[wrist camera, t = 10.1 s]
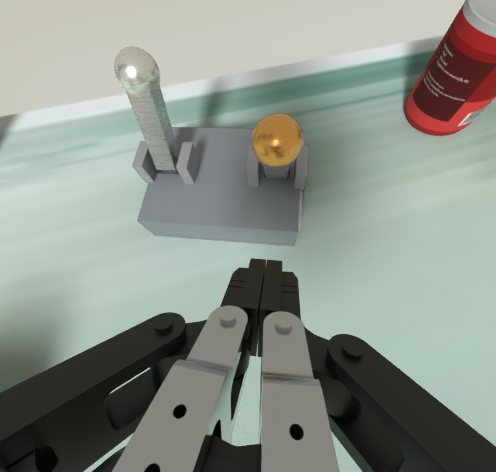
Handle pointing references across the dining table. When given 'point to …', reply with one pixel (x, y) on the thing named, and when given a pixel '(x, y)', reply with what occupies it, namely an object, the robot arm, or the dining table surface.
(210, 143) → the console
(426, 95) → the canned food
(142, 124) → the lever white
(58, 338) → the dining table surface
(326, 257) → the dining table surface
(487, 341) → the dining table surface
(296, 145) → the lever orange
